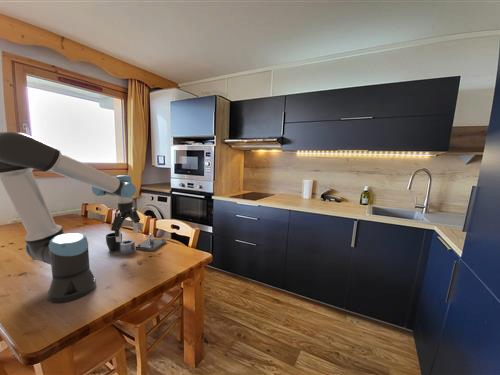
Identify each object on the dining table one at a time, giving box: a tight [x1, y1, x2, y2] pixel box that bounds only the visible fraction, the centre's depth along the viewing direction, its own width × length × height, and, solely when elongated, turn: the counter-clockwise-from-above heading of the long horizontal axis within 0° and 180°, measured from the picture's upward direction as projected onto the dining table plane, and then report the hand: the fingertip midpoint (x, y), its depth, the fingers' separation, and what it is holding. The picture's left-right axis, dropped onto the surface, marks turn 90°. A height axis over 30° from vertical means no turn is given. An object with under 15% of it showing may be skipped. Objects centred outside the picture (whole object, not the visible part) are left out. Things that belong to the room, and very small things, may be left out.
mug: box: [105, 232, 123, 252], centre depth 124 cm, size 8×12×10 cm
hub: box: [119, 239, 136, 256], centre depth 123 cm, size 7×7×6 cm
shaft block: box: [135, 232, 167, 252], centre depth 132 cm, size 14×12×8 cm
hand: (127, 237), depth 123 cm, fingers open, 13 cm apart
